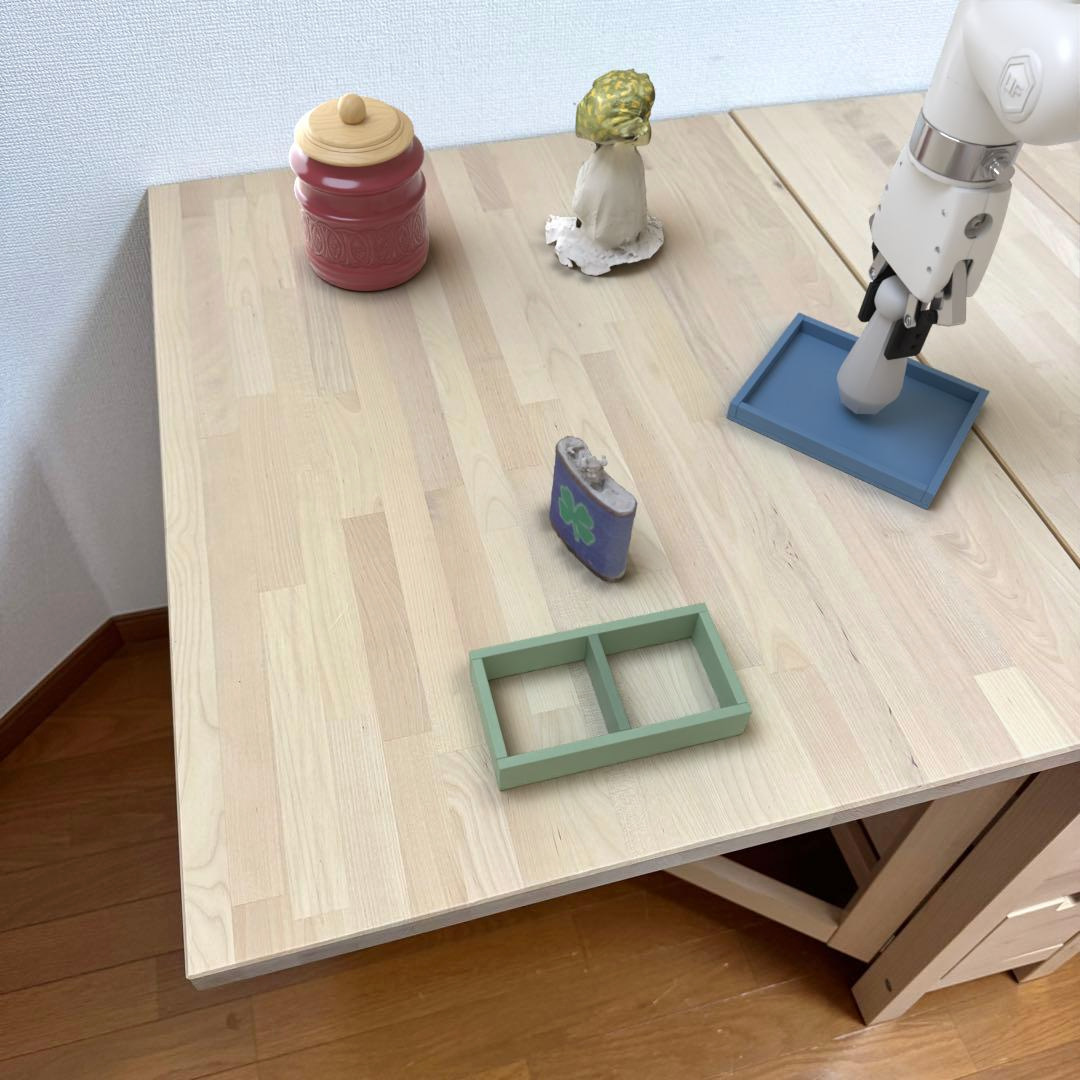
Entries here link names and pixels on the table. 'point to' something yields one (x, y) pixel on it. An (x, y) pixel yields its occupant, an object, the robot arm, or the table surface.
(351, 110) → the kitchen canister
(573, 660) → the frame
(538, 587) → the table surface
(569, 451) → the flask
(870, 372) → the salt shaker
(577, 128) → the mushroom
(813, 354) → the tray
